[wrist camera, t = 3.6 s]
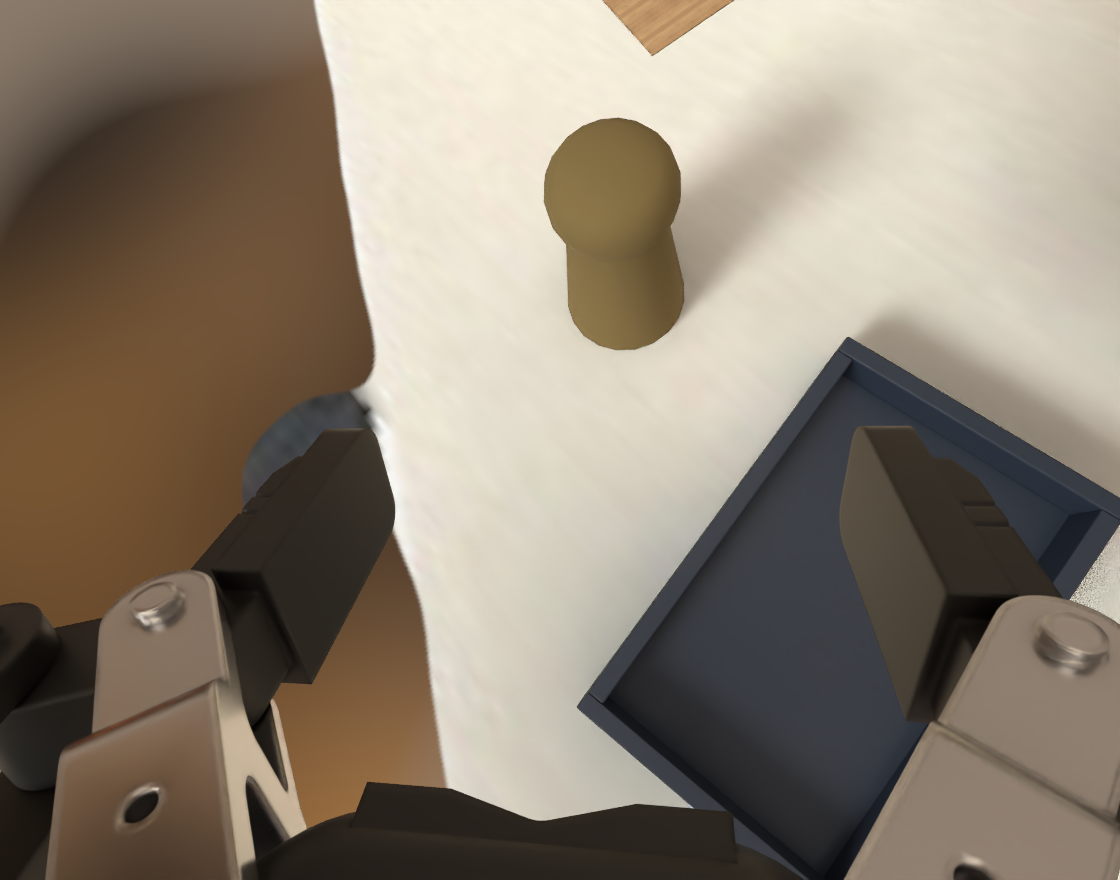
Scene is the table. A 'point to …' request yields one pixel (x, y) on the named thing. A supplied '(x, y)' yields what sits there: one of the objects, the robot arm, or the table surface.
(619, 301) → the cork
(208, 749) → the robot arm
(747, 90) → the table surface
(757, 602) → the pan
